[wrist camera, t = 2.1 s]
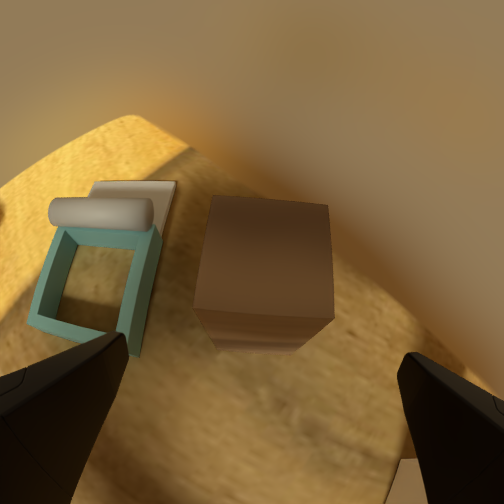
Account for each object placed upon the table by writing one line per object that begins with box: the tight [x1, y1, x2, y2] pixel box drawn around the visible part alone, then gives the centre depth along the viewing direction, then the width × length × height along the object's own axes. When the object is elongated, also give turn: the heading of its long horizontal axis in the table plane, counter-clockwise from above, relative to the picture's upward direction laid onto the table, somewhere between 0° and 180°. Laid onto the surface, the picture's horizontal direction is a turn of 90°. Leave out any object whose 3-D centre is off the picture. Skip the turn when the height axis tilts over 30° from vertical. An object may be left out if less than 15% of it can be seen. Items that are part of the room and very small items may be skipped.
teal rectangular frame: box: [27, 181, 176, 357], centre depth 19 cm, size 16×10×5 cm, turn 176°
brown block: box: [193, 195, 335, 355], centre depth 15 cm, size 5×5×10 cm
